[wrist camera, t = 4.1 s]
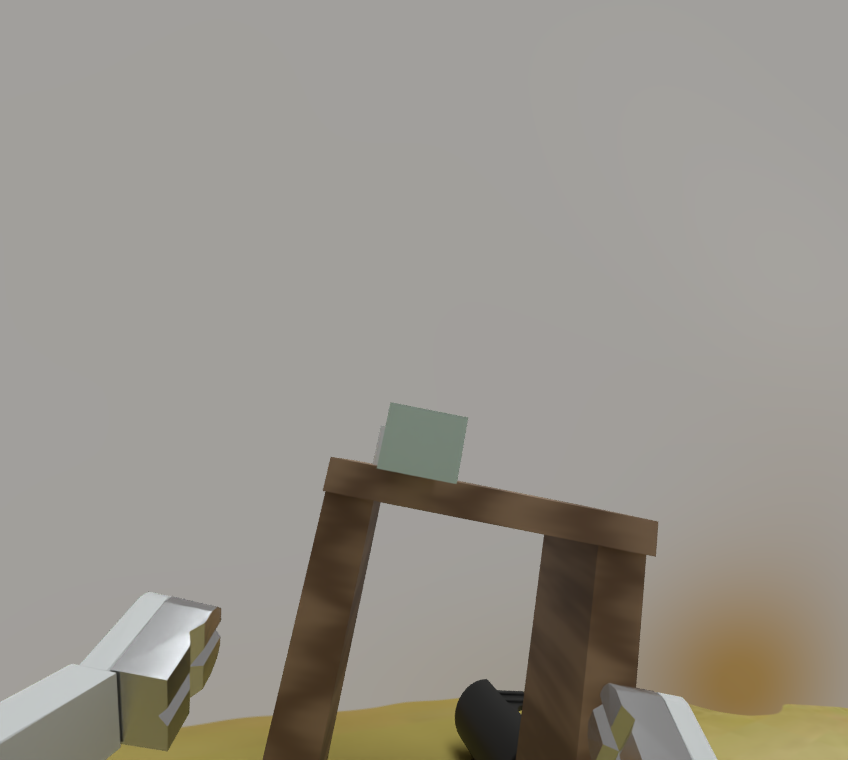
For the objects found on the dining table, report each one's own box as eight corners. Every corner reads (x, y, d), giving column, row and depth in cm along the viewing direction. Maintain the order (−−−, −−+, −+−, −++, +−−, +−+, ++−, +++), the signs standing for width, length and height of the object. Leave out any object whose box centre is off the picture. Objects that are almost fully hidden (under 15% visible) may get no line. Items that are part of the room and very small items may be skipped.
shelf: (200, 1007, 20) (330, 456, 25) (276, 807, 32) (354, 460, 37) (616, 1089, 20) (658, 521, 25) (539, 859, 32) (578, 504, 37)
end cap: (447, 752, 42) (459, 676, 44) (509, 751, 44) (518, 679, 46) (497, 840, 33) (510, 741, 34) (572, 834, 35) (581, 740, 36)
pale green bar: (336, 460, 16) (354, 382, 16) (378, 465, 39) (385, 433, 40) (496, 491, 16) (508, 412, 16) (442, 477, 39) (448, 445, 40)
